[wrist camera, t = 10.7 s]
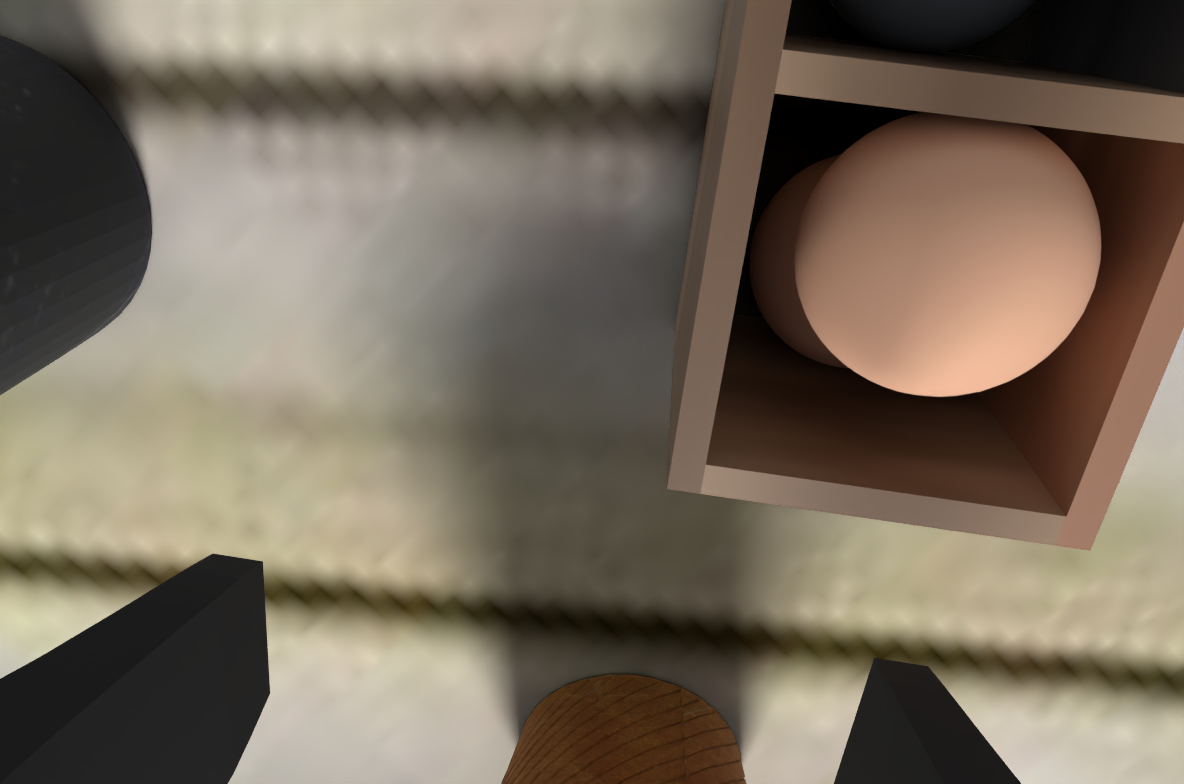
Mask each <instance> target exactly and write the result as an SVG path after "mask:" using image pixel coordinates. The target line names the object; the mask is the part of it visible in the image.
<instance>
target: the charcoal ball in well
mask: <svg viewBox="0 0 1184 784" xmlns="http://www.w3.org/2000/svg"><path fill="white" fill-rule="evenodd" d="M830 1H831V3H832V4H833V6H834V7H835V8H836V10H837V11H838V12H839V14H840V15H841V16H842V17H843V18H844V19H845V20H846V21H847V22H848V23H849V24H850V25H851V26H852V27H854V28H855V29H856V30H858V31H859V32H860V33H862V34H863V35H865V36H866V37H868V38H869V39H871V40H873V41H875V42H877V43H879V44H882V45H885V46H888V47H891V48H894V49H899V50H905V51H911V52H939V51H946V50H951V49H956V48H960V47H963V46H966V45H969V44H972V43H975V42H977V41H979V40H981V39H984V38H986V37H988V36H990V35H992V34H993V33H995V32H997V31H999V30H1000V29H1002V28H1004V27H1005V26H1007V25H1008V24H1009V23H1011V22H1012V21H1014V20H1015V19H1016V18H1018V17H1019V16H1020V15H1021V14H1022V13H1023V12H1024V11H1026V10H1027V9H1028V8H1029V7H1030V6H1031V5H1032V4H1033V3H1034V2H1035V1H1036V0H830Z"/></svg>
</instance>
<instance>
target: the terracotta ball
mask: <svg viewBox="0 0 1184 784" xmlns="http://www.w3.org/2000/svg"><path fill="white" fill-rule="evenodd" d="M1100 261H1101V230H1100V221H1099V217H1098V213H1097V209H1096V205H1095V202H1094V199H1093V197H1092V194H1091V192H1090V189H1089V187H1088V185H1087V183H1086V181H1085V179H1084V177H1083V176H1082V174H1081V173H1080V171H1079V170H1078V168H1077V167H1076V166H1075V164H1074V163H1073V162H1072V161H1071V160H1070V158H1069V157H1068V156H1067V155H1066V154H1065V153H1064V151H1063V150H1061V149H1060V148H1059V147H1058V146H1057V145H1056V144H1055V143H1054V142H1053V141H1051V140H1050V139H1049V138H1048V137H1046V136H1045V135H1044V134H1042V133H1040V132H1039V131H1037V130H1036V129H1034V128H1032V127H1030V126H1028V125H1026V124H1020V123H1011V122H1003V121H995V120H987V119H979V118H971V117H962V116H954V115H946V114H938V113H930V112H920V113H916V114H912V115H908V116H904V117H902V118H899V119H897V120H894V121H892V122H889V123H887V124H885V125H883V126H881V127H879V128H877V129H875V130H874V131H872V132H870V133H868V134H867V135H865V136H864V137H862V138H861V139H860V140H858V141H857V142H855V143H854V144H853V145H852V146H850V147H849V148H848V149H847V150H845V151H844V152H843V153H842V154H841V155H840V157H839V158H838V159H837V160H836V161H835V162H834V163H833V164H832V165H831V166H830V167H829V168H828V169H827V171H826V172H825V173H824V175H823V176H822V178H821V179H820V181H819V182H818V184H817V186H816V187H815V189H814V190H813V192H812V193H811V195H810V198H809V200H808V202H807V205H806V207H805V209H804V212H803V214H802V217H801V220H800V224H799V228H798V232H797V237H796V242H795V254H794V263H795V279H796V285H797V289H798V294H799V297H800V300H801V303H802V306H803V309H804V311H805V314H806V316H807V318H808V320H809V322H810V324H811V326H812V328H813V330H814V331H815V333H816V334H817V335H818V337H819V338H820V340H821V341H822V342H823V343H824V345H825V346H826V347H827V348H828V349H829V350H830V352H831V353H832V354H834V355H835V356H836V357H837V358H838V359H839V360H840V361H841V362H842V363H843V364H845V365H846V366H848V367H849V368H850V369H852V370H853V371H854V372H856V373H857V374H859V375H861V376H863V377H864V378H866V379H868V380H869V381H872V382H874V383H876V384H878V385H881V386H883V387H886V388H889V389H892V390H895V391H898V392H903V393H908V394H913V395H922V396H935V397H944V396H958V395H964V394H970V393H975V392H980V391H984V390H987V389H990V388H992V387H995V386H998V385H1001V384H1003V383H1006V382H1008V381H1010V380H1012V379H1014V378H1016V377H1018V376H1020V375H1022V374H1024V373H1025V372H1027V371H1028V370H1030V369H1031V368H1033V367H1034V366H1036V365H1037V364H1038V363H1040V362H1041V361H1042V360H1044V359H1045V358H1046V357H1048V356H1049V355H1050V354H1051V353H1052V352H1053V351H1054V350H1055V349H1056V348H1057V347H1058V346H1059V345H1060V344H1061V343H1062V342H1063V341H1064V340H1065V339H1066V337H1067V336H1068V335H1069V333H1070V332H1071V331H1072V329H1073V328H1074V326H1075V325H1076V324H1077V322H1078V320H1079V319H1080V317H1081V316H1082V314H1083V313H1084V310H1085V308H1086V306H1087V304H1088V302H1089V299H1090V297H1091V295H1092V292H1093V290H1094V288H1095V283H1096V279H1097V275H1098V270H1099V266H1100Z"/></svg>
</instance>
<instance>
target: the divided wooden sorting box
mask: <svg viewBox="0 0 1184 784" xmlns="http://www.w3.org/2000/svg"><path fill="white" fill-rule="evenodd" d="M791 2H792V0H726V3H725V9H724V15H723V22H722V28H721V35H720V41H719V47H718V54H717V60H716V67H715V73H714V79H713V86H712V92H711V99H710V105H709V111H708V118H707V124H706V131H705V137H704V144H703V150H702V156H701V163H700V169H699V176H698V182H697V188H696V195H695V201H694V208H693V214H692V220H691V227H690V233H689V240H688V246H687V252H686V259H685V265H684V272H683V278H682V284H681V291H680V297H679V304H678V310H677V316H676V323H675V333H674V354H673V374H672V395H671V416H670V436H669V457H668V478H667V489H670V490H677V491H684V492H691V493H698V494H704V495H711V496H718V497H725V498H732V499H739V500H746V501H753V502H760V503H766V504H773V505H780V506H787V507H794V508H801V509H808V510H815V511H821V512H828V513H835V514H842V515H849V516H856V517H863V518H870V519H877V520H883V521H890V522H897V523H904V524H911V525H918V526H925V527H932V528H939V529H945V530H952V531H959V532H966V533H973V534H980V535H987V536H994V537H1000V538H1007V539H1014V540H1021V541H1028V542H1035V543H1042V544H1049V545H1056V546H1062V547H1069V548H1076V549H1083V550H1091V547H1092V545H1093V543H1094V540H1095V538H1096V535H1097V533H1098V531H1099V528H1100V526H1101V523H1102V521H1103V519H1104V516H1105V514H1106V511H1107V509H1108V507H1109V504H1110V502H1111V499H1112V497H1113V495H1114V492H1115V490H1116V488H1117V485H1118V483H1119V480H1120V478H1121V476H1122V473H1123V471H1124V468H1125V466H1126V464H1127V461H1128V459H1129V456H1130V454H1131V452H1132V449H1133V447H1134V444H1135V442H1136V440H1137V437H1138V435H1139V432H1140V430H1141V428H1142V425H1143V423H1144V420H1145V418H1146V416H1147V413H1148V411H1149V409H1150V406H1151V404H1152V401H1153V399H1154V397H1155V394H1156V392H1157V389H1158V387H1159V385H1160V382H1161V380H1162V377H1163V375H1164V373H1165V370H1166V368H1167V365H1168V363H1169V361H1170V358H1171V356H1172V353H1173V351H1174V349H1175V346H1176V344H1177V341H1178V339H1179V337H1180V334H1181V332H1182V330H1183V327H1184V0H1041V3H1040V7H1039V10H1038V13H1037V17H1036V20H1035V24H1034V27H1033V30H1032V34H1031V37H1030V40H1029V44H1028V47H1027V51H1026V54H1025V57H1024V61H1023V62H1021V61H1012V60H1004V59H996V58H987V57H979V56H970V55H962V54H954V53H945V52H911V51H905V50H899V49H894V48H891V47H888V46H885V45H878V44H870V43H861V42H853V41H844V40H836V39H828V38H819V37H811V36H802V35H794V34H786V29H787V23H788V18H789V13H790V7H791ZM774 94H783V95H791V96H799V97H807V98H815V99H823V100H832V101H840V102H848V103H856V104H864V105H872V106H881V107H889V108H897V109H905V110H913V111H921V112H930V113H938V114H946V115H954V116H962V117H971V118H979V119H987V120H995V121H1003V122H1011V123H1020V124H1026V125H1028V126H1030V127H1032V128H1034V129H1036V130H1037V131H1039V132H1040V133H1042V134H1044V135H1045V136H1046V137H1048V138H1049V139H1050V140H1051V141H1053V142H1054V143H1055V144H1056V145H1057V146H1058V147H1059V148H1060V149H1061V150H1063V151H1064V153H1065V154H1066V155H1067V156H1068V157H1069V158H1070V160H1071V161H1072V162H1073V163H1074V164H1075V166H1076V167H1077V168H1078V170H1079V171H1080V173H1081V174H1082V176H1083V177H1084V179H1085V181H1086V183H1087V185H1088V187H1089V189H1090V192H1091V194H1092V197H1093V199H1094V202H1095V205H1096V209H1097V213H1098V217H1099V221H1100V230H1101V261H1100V266H1099V270H1098V275H1097V279H1096V283H1095V288H1094V290H1093V292H1092V295H1091V297H1090V299H1089V302H1088V304H1087V306H1086V308H1085V310H1084V313H1083V314H1082V316H1081V317H1080V319H1079V320H1078V322H1077V324H1076V325H1075V326H1074V328H1073V329H1072V331H1071V332H1070V333H1069V335H1068V336H1067V337H1066V339H1065V340H1064V341H1063V342H1062V343H1061V344H1060V345H1059V346H1058V347H1057V348H1056V349H1055V350H1054V351H1053V352H1052V353H1051V354H1050V355H1049V356H1048V357H1046V358H1045V359H1044V360H1042V361H1041V362H1040V363H1038V364H1037V365H1036V366H1034V367H1033V368H1031V369H1030V370H1028V371H1027V372H1025V373H1024V374H1022V375H1020V376H1018V377H1016V378H1014V379H1012V380H1010V381H1008V382H1006V383H1003V384H1001V385H998V386H995V387H992V388H990V389H987V390H984V391H980V392H975V393H970V394H964V395H958V396H944V397H935V396H922V395H913V394H908V393H903V392H898V391H895V390H892V389H889V388H886V387H883V386H881V385H878V384H876V383H874V382H872V381H869V380H868V379H866V378H864V377H863V376H861V375H859V374H857V373H856V372H854V371H853V370H852V369H850V368H840V367H835V366H830V365H826V364H823V363H820V362H817V361H815V360H813V359H810V358H808V357H806V356H804V355H802V354H800V353H799V352H797V351H795V350H794V349H793V348H791V347H790V346H789V345H788V344H786V343H785V342H784V341H783V340H782V339H781V338H780V337H779V336H778V335H777V334H776V333H775V332H774V331H773V330H772V328H771V327H770V326H769V324H768V323H767V321H766V320H765V319H764V318H761V317H754V316H747V315H739V314H734V310H735V304H736V299H737V293H738V288H739V283H740V277H741V272H742V266H743V261H744V256H745V250H746V245H747V239H748V234H749V229H750V223H751V218H752V212H753V207H754V202H755V196H756V191H757V185H758V180H759V175H760V169H761V164H762V158H763V153H764V148H765V142H766V137H767V131H768V126H769V121H770V115H771V110H772V104H773V99H774Z"/></svg>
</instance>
